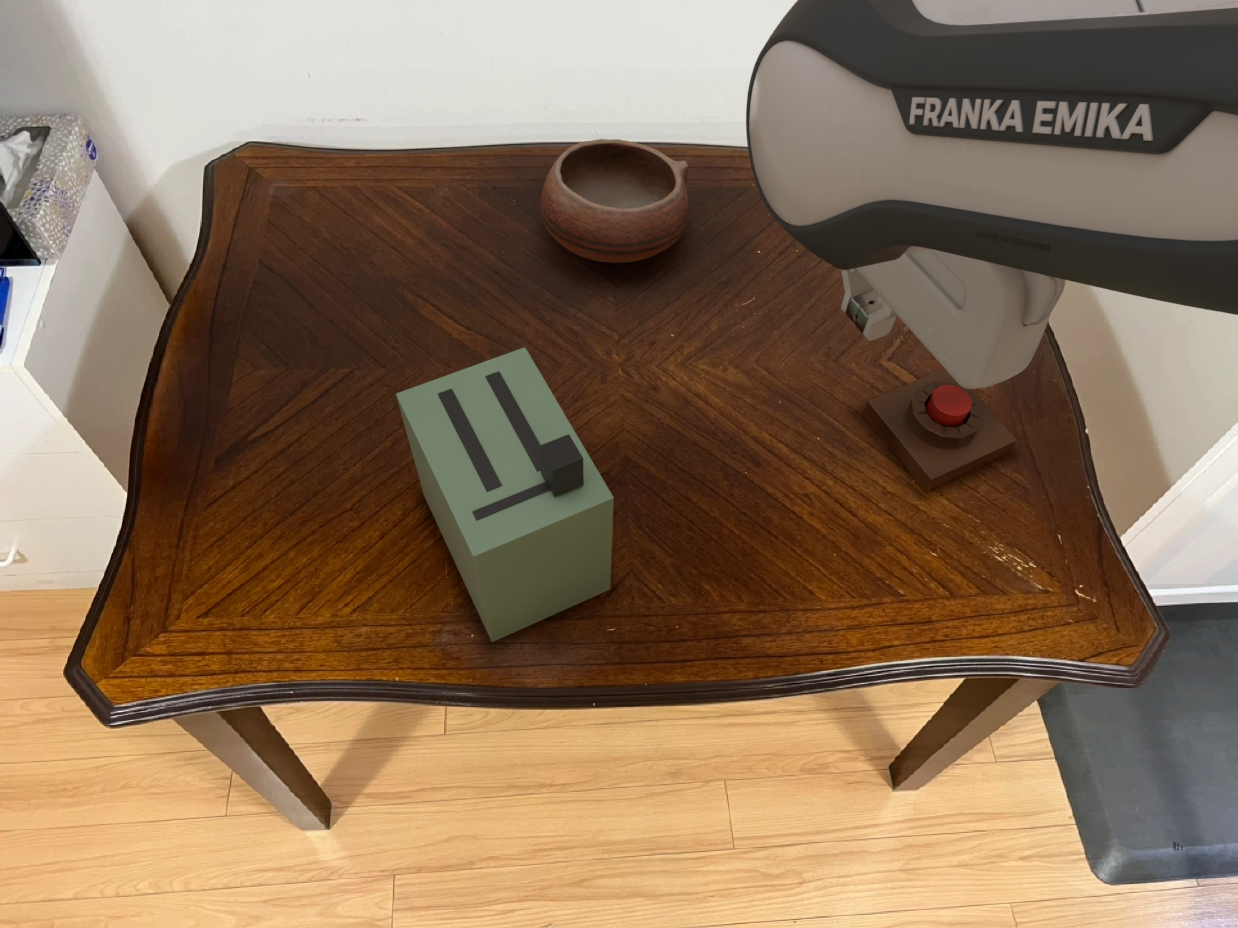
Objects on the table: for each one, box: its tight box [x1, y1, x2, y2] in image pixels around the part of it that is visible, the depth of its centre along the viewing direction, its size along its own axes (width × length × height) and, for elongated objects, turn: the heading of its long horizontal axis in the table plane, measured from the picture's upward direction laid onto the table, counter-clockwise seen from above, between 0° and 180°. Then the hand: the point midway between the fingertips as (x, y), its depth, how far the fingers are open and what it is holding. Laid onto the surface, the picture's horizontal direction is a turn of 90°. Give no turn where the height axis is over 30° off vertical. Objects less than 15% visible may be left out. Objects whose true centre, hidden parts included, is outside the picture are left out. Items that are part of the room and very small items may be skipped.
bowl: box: [540, 138, 690, 264], centre depth 101 cm, size 16×16×10 cm
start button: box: [927, 385, 972, 427], centre depth 88 cm, size 4×4×2 cm
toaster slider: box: [539, 434, 584, 497], centre depth 68 cm, size 2×2×4 cm
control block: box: [862, 368, 1018, 493], centre depth 90 cm, size 10×10×4 cm
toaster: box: [395, 346, 615, 643], centre depth 78 cm, size 16×11×15 cm
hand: (864, 322), depth 58 cm, fingers closed
